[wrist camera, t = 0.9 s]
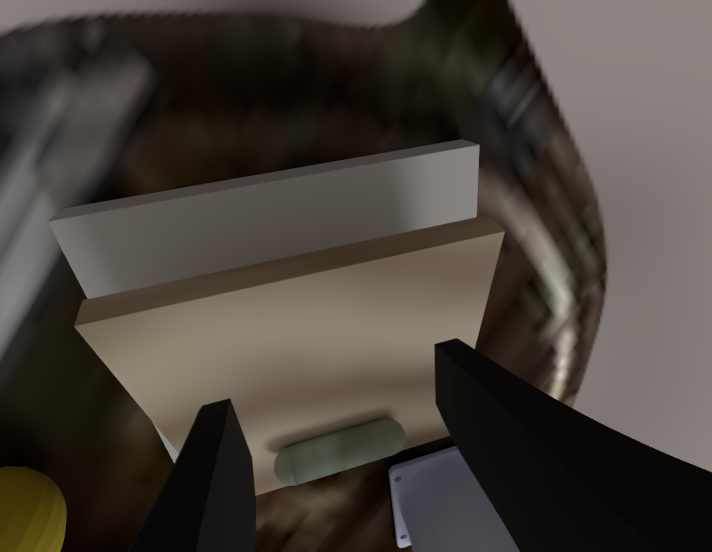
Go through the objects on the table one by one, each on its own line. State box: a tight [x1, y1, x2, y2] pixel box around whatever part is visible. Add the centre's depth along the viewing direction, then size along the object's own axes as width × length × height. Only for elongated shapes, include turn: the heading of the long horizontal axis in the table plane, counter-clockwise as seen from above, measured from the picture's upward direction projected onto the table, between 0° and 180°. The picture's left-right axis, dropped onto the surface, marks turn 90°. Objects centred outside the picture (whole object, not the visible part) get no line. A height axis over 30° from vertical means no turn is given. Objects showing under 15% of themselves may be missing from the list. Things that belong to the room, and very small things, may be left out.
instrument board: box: [74, 215, 505, 496], centre depth 16 cm, size 14×13×3 cm
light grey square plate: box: [47, 139, 479, 463], centre depth 19 cm, size 16×16×2 cm
